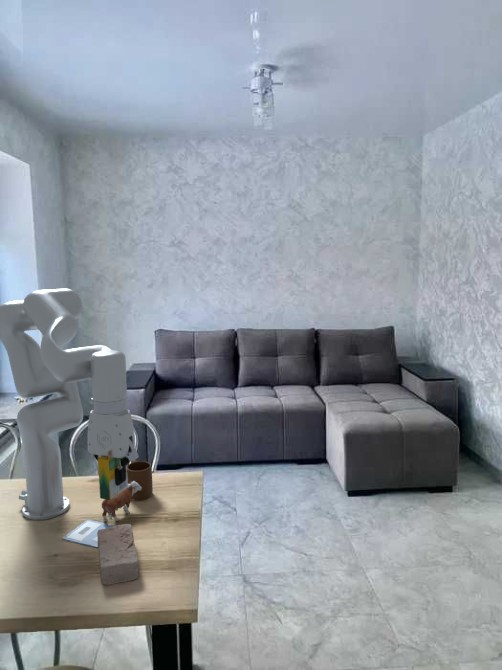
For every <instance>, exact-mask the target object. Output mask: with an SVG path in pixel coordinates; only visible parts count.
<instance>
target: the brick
mask: <svg viewBox="0 0 502 670" xmlns="http://www.w3.org/2000/svg"><path fill="white" fill-rule="evenodd" d="M97 536H98V548H97V549H98V561H99V568H100V578H101V583H102V584H103V585H105V586H107V585H115V584H118V583H124V582H131V581H133V580H136V579H137V578H138V577H139V571H140V570H139V566H140V565H139V557H138V556H139V555H138V550H137V548H136V544H135V538H134V531H133V527H132V524H130V523H125V524H118V525H115V526H112V527H110V528H105V529H101V530H98V532H97Z"/></svg>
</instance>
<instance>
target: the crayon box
mask: <svg viewBox="0 0 502 670" xmlns="http://www.w3.org/2000/svg"><path fill="white" fill-rule="evenodd" d="M97 466H98V467H97V468H98V481H99V484H98V485H99V498H100V499H102V500H104V499H106V500H112V498H114V497H115V496H116V495H117V494H119V493H120V492H121V491H123V490H124V489H125V488H127V487H128V476H127V465H126V481H125V482H123V483H122V484H120V485H119V486H116V484H115V469H117V465H116V458H112V457H110V451H108V457H105V456H101V457H99V458H98V461H97Z"/></svg>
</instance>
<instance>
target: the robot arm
mask: <svg viewBox="0 0 502 670" xmlns="http://www.w3.org/2000/svg"><path fill="white" fill-rule="evenodd" d="M82 311H83V302H82V298H81V297H80V295H79V294H78V292H76V291H75V290H73V289H70V288H56V289H55V288H54V289H38V290H35V291H32V292H30V293H28V294H27V295H26V296H25V297H24V299H22V300H21V299H20V300H13V301H12V300H11V301H8V302H4V303H2V304H0V341H1V343H2V345H3V346H4V349H5V350H6V354H7V356H8V361H9V365H10V370H11V374H12V378H13V383H14V386H15V390H16V392H17V394H18V396H19V397H20V398H23V399H34V398H38V397H39V398H40V397H45V396H49V395H55V394H56V396H57V397H55V398H51V399H45V400H41V401H35V402H32V403H29V404H26V405H25V406H23V407H21V409H20V410H19V411H18V412H17V415H16V423H17V427H18V431H19V434H20V439H21V443H22V450H23V452H22V453H23V462H24V473H25V486H26V488H23V489H22V490H21V494H19V495H18V500H20V501H24V505H23V507H22V509H21V512H22V516H24V517H25V518H26V519H28V520H35V521H37V520H38V521H39V520H47V519H48V520H49V519H53V518H55V517H58V516H60V515H62V514H64V513H65V512H66V511H67V510H68V509H69V508H70V504H71V503H70V499H69V498H68V497H66V496H64V484H63V469H62V456H61V455H62V454H61V448H60V445H59V444H58V442H57V441H55V440H54V439H53V438H52V435H54V434H56V433H58V432H59V433H60V432H63V431H67V430H69V429H73V428H76V427H78V426H80V425H81V424H82V422H83V419H84V410H83V404H82V400H81V397H80V392H79V388H78V383H77V382H81V381H86V380H91V392H92V394H91V395H92V397H91V398H90V399H89V404H90V405H92V410H90V411H89V412H90V413H89V415H88V423H87V452H88V453H89V454H90V455H92V456H93V458H94V459H95V460H96V461H97V462H98V458H99V457H101V456H105V457H108V451H110V457H112V458H116V465H117V469H115V484H116V486H119V485H120V484H122V483H123V482H125V481H126V465H129V464H130V463H131V461H133V460H135V459H136V460H137V459H138V458H139V453H138V452H137V450H136V439H135V438H136V437H135V430H134V429H135V428H134V423H133V418H132V415H131V411H130V410H129V407H128V390H127V388H128V386H127V385H128V384H127V362H126V356H125V354H124V353H123V352H122V351H121V350H115V349H112V348H111V347H109V346H107V345H104V344H97V345H95V344H94V345H90V346H89V345H88V346H82V347H75V348H69V349H63V348H62V347H63V346H64V345H66V344H68V343H70V341H72V340H73V339H74V338H75V337H76V336H77V333H78V330H79V323H78V320H77V319H78V318H80V316H81V314H82ZM37 330H38V331H39V332H40V333H41V334H42V338H41V341H40V344H39V343H38V342H37V340H35V338H33V337H32V336H31V335H29V334H28V333H26V332H27V331H28V332H29V331H37Z"/></svg>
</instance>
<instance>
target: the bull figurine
mask: <svg viewBox="0 0 502 670" xmlns="http://www.w3.org/2000/svg"><path fill="white" fill-rule="evenodd" d="M141 489H142V487H141V486H140V485H139V484H138V483H137V482H135V481H133V482H132V481H130V484H128V487H127V488H125V489H124V490H123V491H121V492H120V493H119V494H117V495H116V496H115V497H114V498H112V500H106V499H103V501H102V502H101V508H102V510H103V511H102V513H101V514H102V515H101V516H102V520H103V522H104V523H106V522H108V519H107V514H108V517H109V520H111V521H112V519H113V520H114V521H116V522H119V521H120V518H118V516H117V515H116V512H117V511H118V510H119V509H123V510H125V513H126V514H130V513H131V511H130V510H129V508H130V504H131V502H132V500H131V499H132V496H133V494H134V493H136V492H137V491H138V490H139V491H140V490H141Z"/></svg>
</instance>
